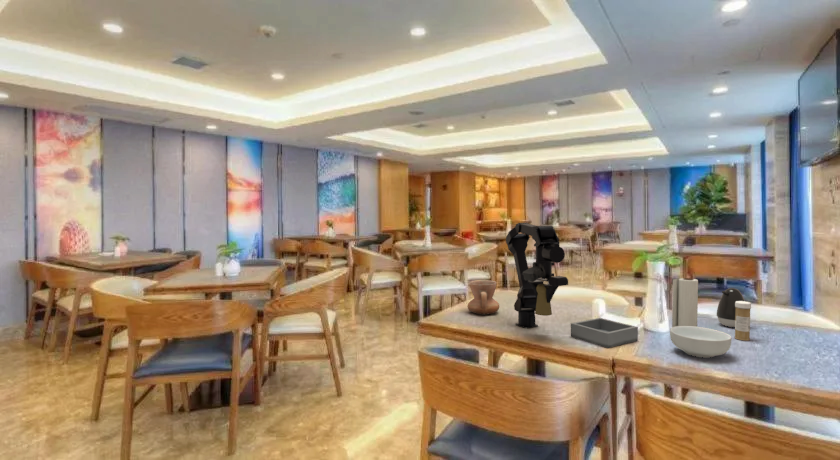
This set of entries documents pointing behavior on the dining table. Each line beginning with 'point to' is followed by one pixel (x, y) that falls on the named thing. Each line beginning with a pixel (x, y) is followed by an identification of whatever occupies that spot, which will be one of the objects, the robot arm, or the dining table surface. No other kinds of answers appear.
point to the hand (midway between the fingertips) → (543, 301)
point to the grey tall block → (685, 302)
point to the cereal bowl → (700, 341)
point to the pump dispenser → (728, 306)
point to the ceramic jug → (483, 297)
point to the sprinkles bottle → (742, 320)
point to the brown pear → (542, 302)
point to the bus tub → (604, 332)
